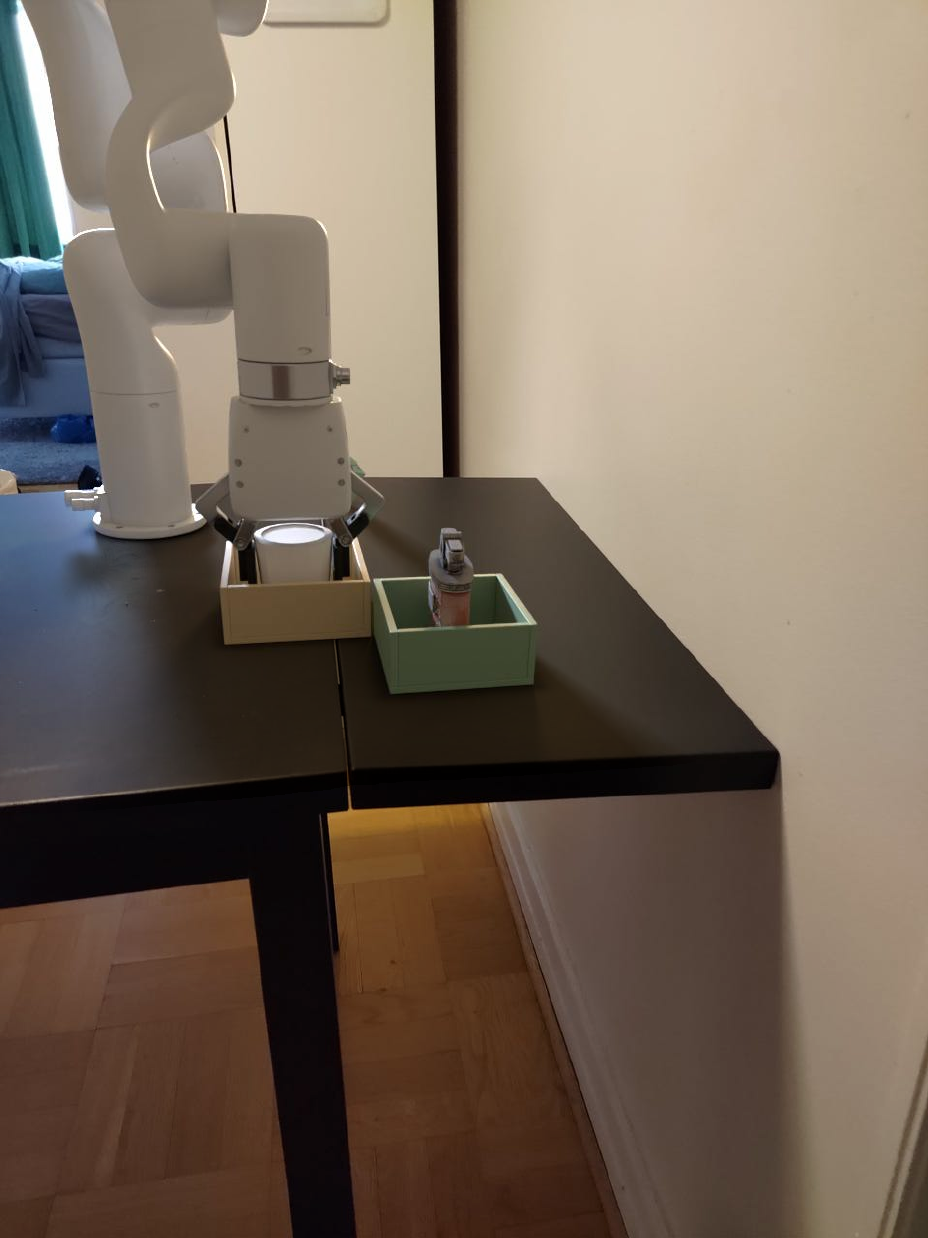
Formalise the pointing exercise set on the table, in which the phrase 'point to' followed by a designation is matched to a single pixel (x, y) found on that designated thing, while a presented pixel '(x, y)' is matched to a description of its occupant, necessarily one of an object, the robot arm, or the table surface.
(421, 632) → the green bin
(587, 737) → the table surface
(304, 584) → the beige bin
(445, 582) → the lighter
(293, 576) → the white round tub
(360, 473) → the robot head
